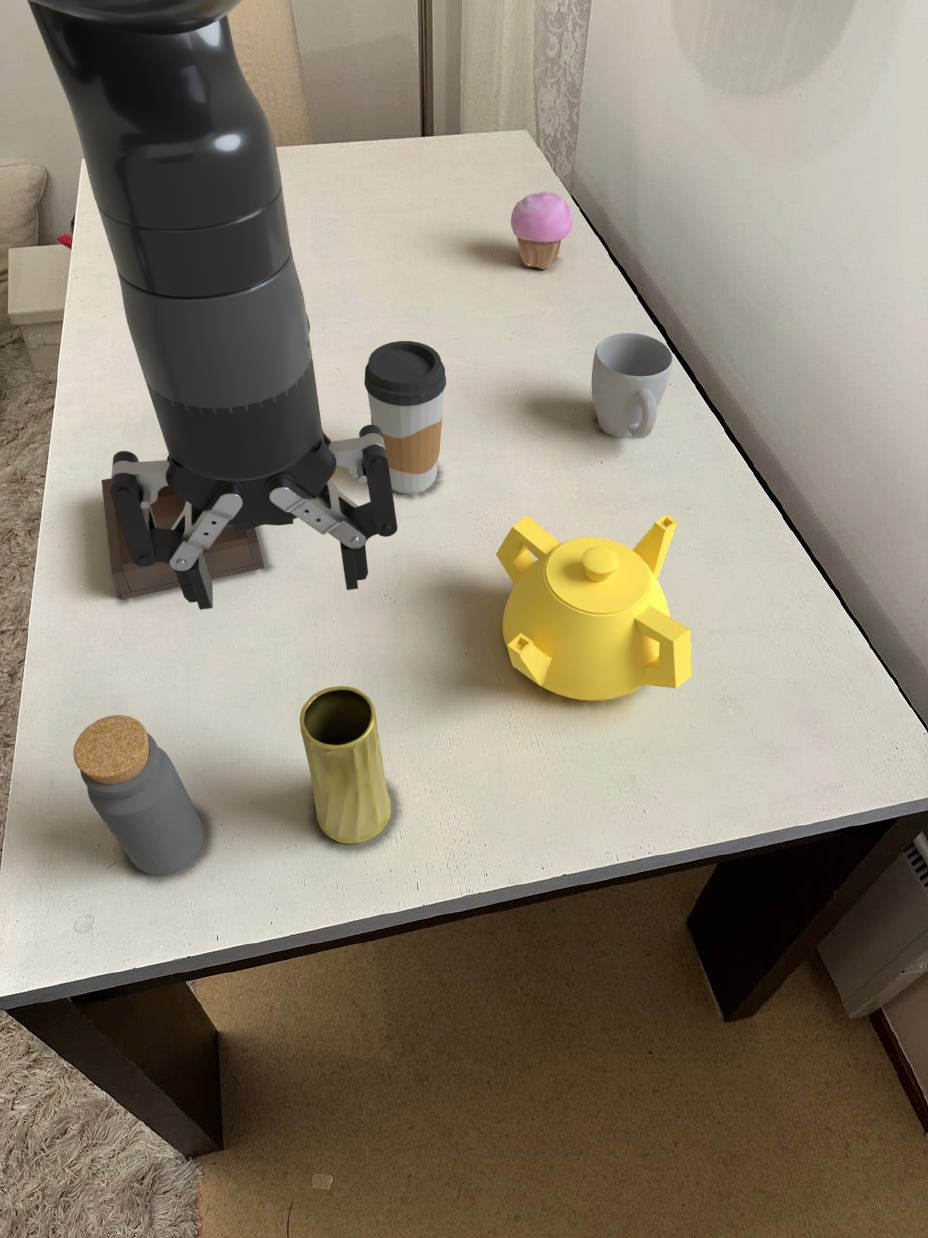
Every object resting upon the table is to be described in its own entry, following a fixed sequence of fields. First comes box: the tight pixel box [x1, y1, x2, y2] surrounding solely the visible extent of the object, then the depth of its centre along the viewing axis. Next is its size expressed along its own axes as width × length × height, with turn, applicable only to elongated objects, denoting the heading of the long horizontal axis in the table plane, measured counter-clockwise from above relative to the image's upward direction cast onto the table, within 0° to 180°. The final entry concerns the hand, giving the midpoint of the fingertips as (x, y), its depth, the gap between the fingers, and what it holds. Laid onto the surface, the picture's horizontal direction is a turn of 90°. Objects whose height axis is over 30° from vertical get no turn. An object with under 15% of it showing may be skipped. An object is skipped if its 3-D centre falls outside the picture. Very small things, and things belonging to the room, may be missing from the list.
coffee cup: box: [363, 340, 447, 495], centre depth 90 cm, size 8×8×15 cm
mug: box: [591, 332, 674, 439], centre depth 98 cm, size 12×9×10 cm
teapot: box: [495, 514, 693, 702], centre depth 76 cm, size 17×17×12 cm
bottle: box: [73, 714, 205, 877], centre depth 61 cm, size 6×6×15 cm
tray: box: [101, 477, 265, 600], centre depth 87 cm, size 14×14×4 cm
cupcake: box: [510, 191, 574, 270], centre depth 122 cm, size 9×9×10 cm
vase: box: [299, 685, 392, 845], centre depth 64 cm, size 6×6×14 cm
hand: (280, 588), depth 50 cm, fingers open, 8 cm apart
